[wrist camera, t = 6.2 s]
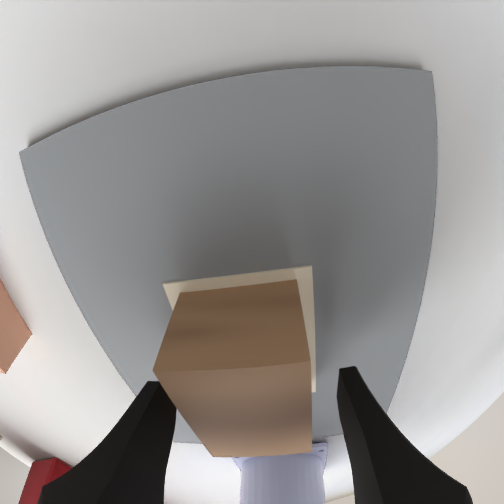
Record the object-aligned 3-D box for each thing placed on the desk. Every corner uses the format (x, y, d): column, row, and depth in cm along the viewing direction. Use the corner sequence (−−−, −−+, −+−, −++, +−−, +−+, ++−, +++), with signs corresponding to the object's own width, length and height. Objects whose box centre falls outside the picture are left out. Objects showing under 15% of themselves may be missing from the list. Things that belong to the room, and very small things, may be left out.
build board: (379, 419, 18) (381, 426, 17) (175, 436, 19) (173, 443, 19) (423, 72, 8) (433, 71, 7) (27, 149, 9) (17, 153, 8)
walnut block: (304, 386, 14) (311, 451, 11) (220, 392, 15) (212, 456, 11) (296, 279, 11) (310, 360, 7) (179, 292, 11) (152, 370, 8)
